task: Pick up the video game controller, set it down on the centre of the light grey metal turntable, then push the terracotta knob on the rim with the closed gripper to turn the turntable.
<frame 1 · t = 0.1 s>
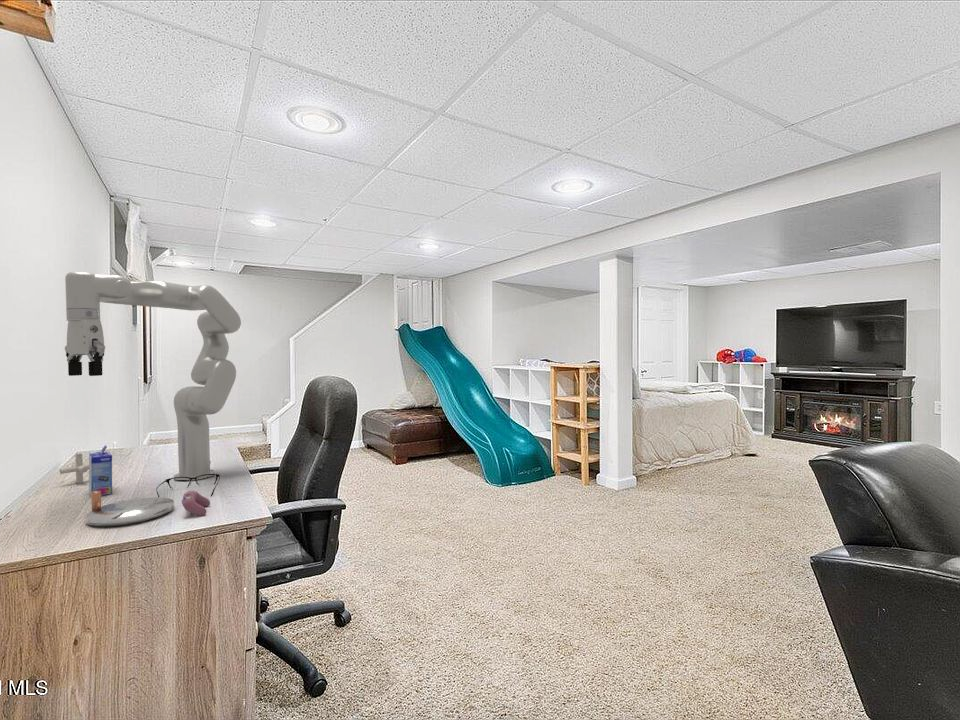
hand: (85, 375, 140), 37 cm above the table, tool pointing down, fingers open, 9 cm apart
video game controller: (196, 513, 132), on the table
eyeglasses: (190, 494, 151), on the table
pipe connector: (79, 483, 165), on the table
ink cartridge box: (101, 493, 153), on the table
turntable: (131, 501, 130), point 4 cm above the table, hinge at 0.0°
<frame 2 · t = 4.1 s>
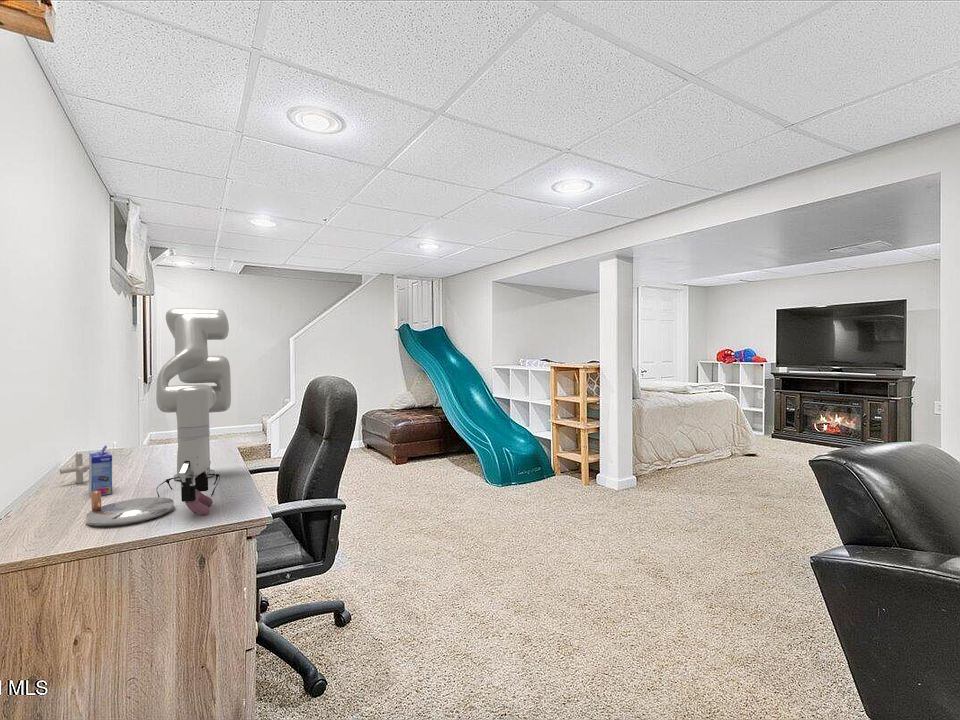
hand: (195, 495, 132), 4 cm above the table, tool pointing down, fingers closed on video game controller, 8 cm apart
video game controller: (199, 512, 133), on the table, touching gripper
everything else where it was.
when the fingers open (8 cm above the table, at t = 9.7 s): video game controller moves 1 cm, resting on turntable.
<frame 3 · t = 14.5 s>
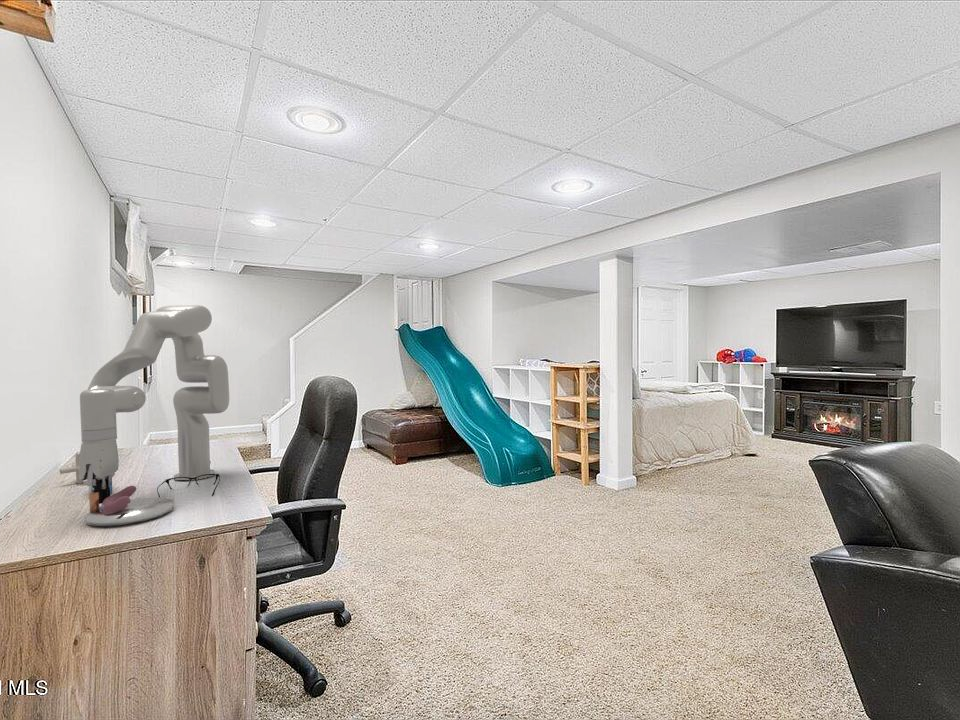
hand: (102, 502, 131), 3 cm above the table, tool pointing down, fingers closed
video game controller: (131, 502, 130), point 4 cm above the table, touching gripper, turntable
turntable: (131, 501, 130), point 4 cm above the table, hinge at 7.1°, touching gripper, video game controller
everything else where it was.
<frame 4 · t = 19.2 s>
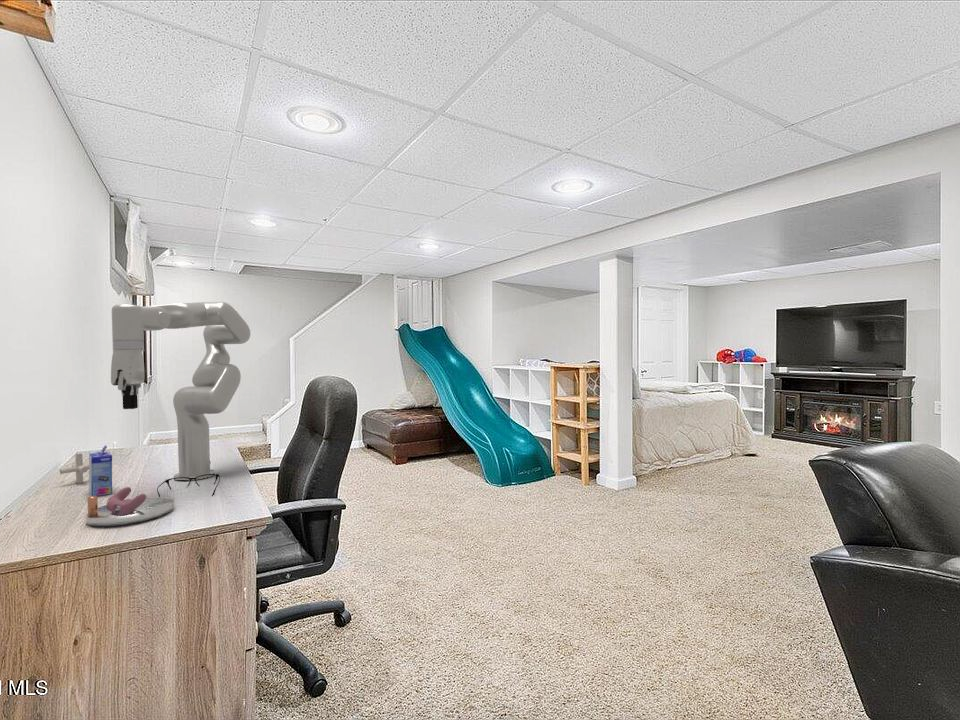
hand: (130, 408, 144), 27 cm above the table, tool pointing down, fingers closed
video game controller: (136, 502, 130), point 4 cm above the table, touching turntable
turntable: (131, 501, 130), point 4 cm above the table, hinge at 40.0°, touching video game controller
everything else where it was.
at the end: video game controller 1.3 cm from the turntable (horizontally); video game controller point 3.6 cm above the table; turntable at +40° (first picture: +0°) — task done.
